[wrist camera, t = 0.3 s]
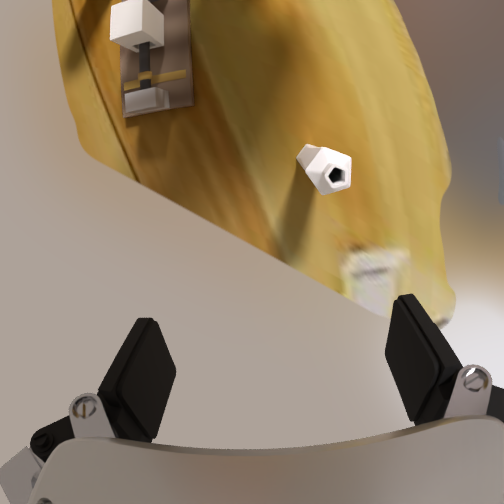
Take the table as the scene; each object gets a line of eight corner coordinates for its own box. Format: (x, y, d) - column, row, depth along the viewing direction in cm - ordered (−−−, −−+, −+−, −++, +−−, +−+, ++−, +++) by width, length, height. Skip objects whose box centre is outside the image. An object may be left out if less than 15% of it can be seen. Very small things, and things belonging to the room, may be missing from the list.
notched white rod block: (136, 22, 27) (111, 6, 20) (163, 15, 27) (142, -5, 20) (136, 52, 29) (109, 40, 22) (164, 45, 29) (141, 30, 22)
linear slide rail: (126, 2, 27) (106, -12, 21) (189, -15, 26) (177, -34, 21) (127, 117, 35) (105, 117, 29) (194, 105, 35) (180, 101, 29)
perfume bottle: (321, 136, 36) (354, 142, 22) (331, 167, 37) (367, 191, 24) (289, 146, 36) (303, 157, 23) (299, 177, 38) (318, 205, 24)
